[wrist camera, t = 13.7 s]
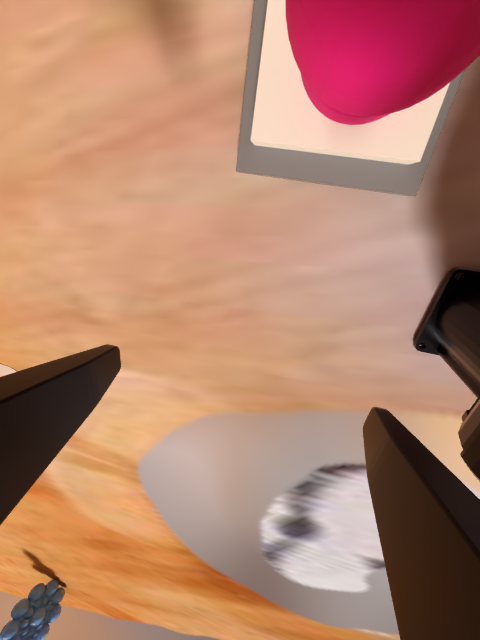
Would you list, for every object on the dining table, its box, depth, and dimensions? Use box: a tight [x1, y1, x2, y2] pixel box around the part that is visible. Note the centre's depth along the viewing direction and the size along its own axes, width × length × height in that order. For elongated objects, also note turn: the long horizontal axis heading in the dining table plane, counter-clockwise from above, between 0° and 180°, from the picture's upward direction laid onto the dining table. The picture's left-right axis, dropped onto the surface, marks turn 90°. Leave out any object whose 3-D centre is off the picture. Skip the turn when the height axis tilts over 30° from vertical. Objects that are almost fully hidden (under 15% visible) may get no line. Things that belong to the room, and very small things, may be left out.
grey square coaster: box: [236, 0, 465, 196], centre depth 13 cm, size 12×11×3 cm
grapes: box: [0, 580, 65, 640], centre depth 57 cm, size 12×7×12 cm, turn 19°
